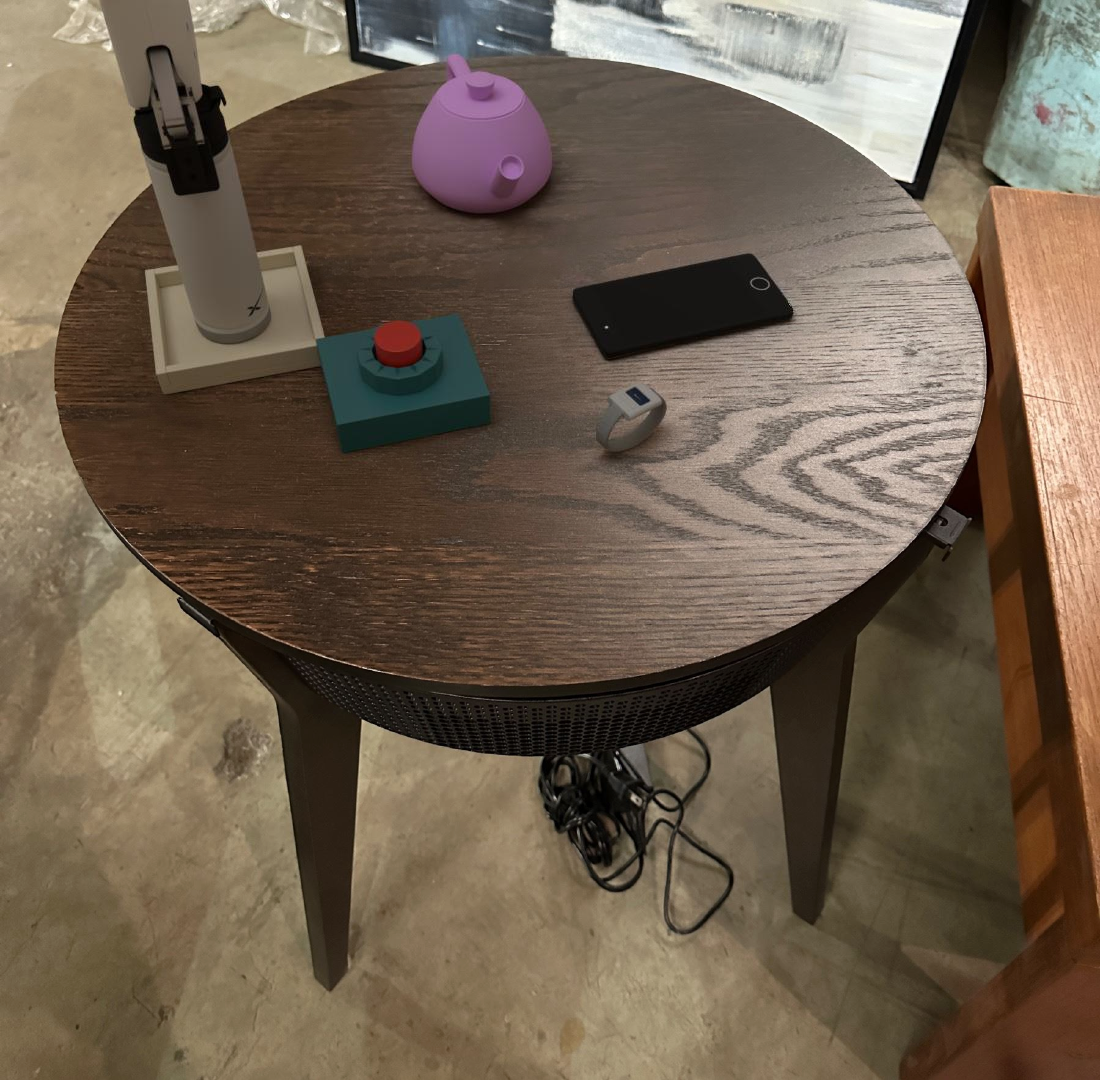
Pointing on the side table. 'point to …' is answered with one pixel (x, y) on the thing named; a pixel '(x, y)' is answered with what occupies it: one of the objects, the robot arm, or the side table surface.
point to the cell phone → (680, 305)
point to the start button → (398, 344)
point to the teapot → (480, 143)
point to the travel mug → (210, 230)
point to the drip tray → (208, 363)
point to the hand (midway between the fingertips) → (192, 162)
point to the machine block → (403, 386)
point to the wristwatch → (631, 416)
